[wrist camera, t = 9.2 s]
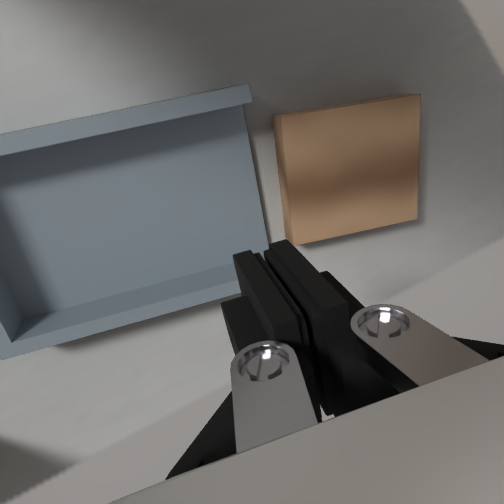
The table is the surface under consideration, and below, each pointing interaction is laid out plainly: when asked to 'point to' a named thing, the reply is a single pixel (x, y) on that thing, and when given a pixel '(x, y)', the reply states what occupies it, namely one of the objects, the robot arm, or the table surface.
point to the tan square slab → (348, 167)
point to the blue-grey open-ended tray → (124, 217)
